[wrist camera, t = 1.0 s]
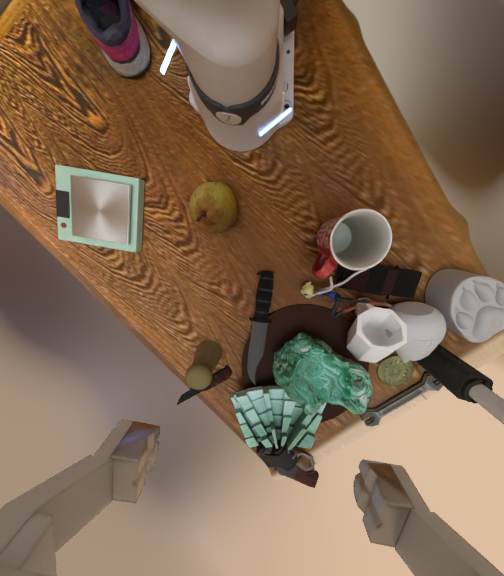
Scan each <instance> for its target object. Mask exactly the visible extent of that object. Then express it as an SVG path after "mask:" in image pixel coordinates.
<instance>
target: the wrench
mask: <svg viewBox="0 0 504 576" xmlns="http://www.w3.org/2000/svg"><path fill="white" fill-rule="evenodd" d="M433 379H435V377H433V376H432V375H431V374H430V373H429V372H428V373H424V376H423V379H422V381H421V382H419V383H418V384H416V385H414V386H412V387H411V388H409V389H407V390H406V391H404V392H402V393H400V394H399V395H397V396H395V397H394V398H392V399H390V400H388V401H387V402H385V403H383V404H382V405H380V406H378V407H377V408H375V409H372V408H367V409H366V411H365V413H364V414H361V419H362V421H363V420H365V419H366V418H368V417H371V419H369V420H367V421H365V424H366V425H367V426H375V425H379V422H380V419H381V417H383V416H385V415H386V414H388V413H390V412H391V411H393V410H395V409H397V408H398V407H400V406H402V405H404V404H405V403H407V402H409V401H411V400H412V399H414V398H416V397H418V396H419V395H421V394H423V393H425V392H426V391H428V390H436V391H439V390H440V388H441V387H442V386H443V385H442V384H441V383H440V382H439V381H438V380H436V381H435V382H433Z"/></svg>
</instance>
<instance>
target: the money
mask: <svg viewBox="0 0 504 576" xmlns="http://www.w3.org/2000/svg"><path fill="white" fill-rule="evenodd" d="M231 395H232V397H231V400H232V402H233V405H234V407H235V409H236V413H235V414H236V417H237V419H238V421H239V424H240V428H241V430H242V432H243V434H244V437H245V441H246V443H247V446H248V447H249V448H251V447H255V446H259V444H258V442H259V441H261V442H262V444H263V445H264V446H265V447H266V448H268V447H273V446H272V443H275V447H276V449H278V445H277V439H280V442H281V446H284V444H285V442H287V448H288V450H291V449H292V448H293V447H294V446H295V445H296V444H298V447H304V448H310V449H311V447H312V445H313V443H314V441H315V436H314V434H315V432H316V430H317V428H318V425H319V423H320V421H321V419H322V415H321V414H322V412H323V410H324V408H325V406H326V404H327V403H324V405H323V406H321V407H320V409H319V410H318V411H317V412H316V413H314V414H313V415H312V416H310V415H307V414H305V412H304V411H303V409H302V408H301V405H300V404H297V403H296V402H294V401H293V400H292V399H291V398H289V397H288V396H287V394H286V392H285V391H284V389H283V387H282V386H280V385H277V386H269V385H267V386H260V387H253V388H248V389H246V390H243V391H239V392H235V393H233V394H231Z"/></svg>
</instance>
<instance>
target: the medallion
mask: <svg viewBox="0 0 504 576" xmlns="http://www.w3.org/2000/svg"><path fill="white" fill-rule="evenodd" d="M413 369H414V366H413V364H412V362H411V360H409V361H408V362H406V363H404V362H403V361H402V360H401V359H400V357H399V356H398V354H397V355H390V356H389V357H387V358H384V359H383V360H382V361H381V362H380V363H379V365H378V367H377V375H378V377H379V379H380V380H381V381H382V382H383V383H385V384H387V385H390V386H399V385H401V384H403V383H405V382H406V381H407V380H408V379H409V378H410V376H411V375H412V373H413Z"/></svg>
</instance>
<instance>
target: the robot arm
mask: <svg viewBox="0 0 504 576" xmlns="http://www.w3.org/2000/svg"><path fill="white" fill-rule="evenodd" d="M134 1H135V2H136V3H137V4H138V5H139V6H140V7H141V8H142V9H143V10H144V11H145V12H146V13H148V14H149V15H150V16H151V17H152V18H153V19H154V20H155V21H156V22H157V23H158V24H159V25H160V26H161V27H162V28H163V29H164V30H165V31H166V32H167V33H168V34H169V36H170V37H171V38H172V39H173V40H172V42H171V45H170V47H169V50H168V52H167V55H166V57H165V59H164V62H163V64H162V67H161V69H160V71H161V73H162V74H163V75H164V74H165V71H166V69H167V67H168V64H169V62H170V59H171V57H172V55H173V52H174V50H175V48H176V45H177V47H178V49H179V50H180V52H181V54H182V56H183V58H184V60H185V61H186V66H187V70H188V74H189V76H188V77H187V81H188V85H189V87H190V94H189V101H190V104H191V106H192V107H193V108H194V109H195V110H196V111H197V113H199V114H200V115H201V117H202V119H203V121H204V123H205V125H206V128H207V130H208V131H209V133H210V134H211V136H212V137H213V138H214V139H215V141H217V142H218V143H219V144H220V145H222V146H223V147H225V148H227V149H229V150H233V151H238V152H245V151H250V150H253V149H256V148H258V147H260V146H261V145H263V144H264V143H265V142H266V141H268V140H269V138H270V137H271V136H272V135H273V134H274V132H275V131H276V130H278V129H279V128H281V127H283V126H285V125H287V124H288V123H290V122H291V120H292V119H293V103H294V30H295V29H296V23H297V17H298V13H297V11H296V9H295V7H294V6H295V5H296V3H297V2H298V0H134ZM286 105H287V106H288V107H289V108H288V109H285V108H284V106H286ZM159 435H160V426H156V425H151V424H146V423H141V422H136V421H130V420H124V419H122V420H121V421H120V422H119V423H118V424H117V425H116V427H115V428H114V429H113V431H112V432H111V433H110V435H109V436H108V437H107V438H106V440H105V441H104V443H103V444H102V445H101V447H100V448H99V449H98V450H97V452H96V453H95V455H94V456H92V455H89V456H87V457H85V458H84V459H82V460H80V461H79V462H77V463H76V464H74V465H72V466H70V467H68V468H67V469H65V470H63V471H62V472H60V473H58V474H56V475H55V476H53V477H52V478H50V479H48V480H46V481H45V482H43V483H41V484H39V485H38V486H36V487H34V488H33V489H31V490H29V491H27V492H26V493H24V494H22V495H21V496H19V497H17V498H16V499H14V500H12V501H11V502H9V503H7V504H5V505H4V506H3V507H2V508H1V509H0V576H56V557H55V552H56V551H58V550H59V549H60V548H61V547H62V546H63V545H64V544H65V543H66V542H68V540H70V539H71V538H72V537H73V536H74V535H75V534H76V533H78V532H79V531H80V530H81V529H82V528H83V527H84V526H85V525H86V524H88V522H90V521H91V520H92V519H93V518H94V517H95V516H96V515H98V514H99V513H100V512H101V511H102V510H103V509H104V508H105V507H106V506H107V505H109V504H110V503H111V501H112V500H116V501H123V502H131V503H136V502H137V500H138V498H139V496H140V494H141V491H142V489H143V487H144V485H145V481H146V475H147V474H148V473H149V472H151V470H152V468H153V465H154V463H155V460H156V457H157V454H158V449H159V442H158V441H157V439H158V437H159ZM359 469H360V473H359V474H357V475H356V476H355V480H354V494H355V499H356V502H357V505H358V507H359V508H360V509H361V510H362V511H363V512H364V516H363V522H364V525H365V528H366V531H367V534H368V537H369V539H370V542H371V543H376V544H381V545H386V546H390V547H395V550H396V551H397V553H398V554H399V555H400V556H401V558H402V559H403V561H404V562H405V563H406V564H407V566H408V567H409V569H410V570H411V571H412V573H413V574H414V575H415V576H504V575H503V574H502V573H501V572H500V571H499V570H498V569H496V568H495V567H494V566H493V565H492V564H491V563H490V562H489V561H488V560H487V559H486V558H484V557H483V556H482V555H481V554H480V553H479V552H478V551H477V550H476V549H475V548H473V547H472V546H471V545H470V544H469V543H468V542H467V541H466V540H465V539H463V538H462V537H461V536H460V535H459V534H458V533H457V532H456V531H454V530H453V529H452V528H451V527H450V526H449V525H448V524H447V523H445V522H444V521H443V520H442V519H441V518H440V517H439V516H438V515H437V514H435V513H434V512H430V510H429V508H428V507H427V505H426V503H425V502H424V500H423V498H422V497H421V495H420V493H419V492H418V490H417V488H416V487H415V485H414V484H413V482H412V480H411V479H410V477H409V475H408V474H407V472H406V470H405V469H404V468H403V467H402V466H400V465H394V464H387V463H381V462H375V461H368V460H362V461H361V462H360V464H359Z"/></svg>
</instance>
